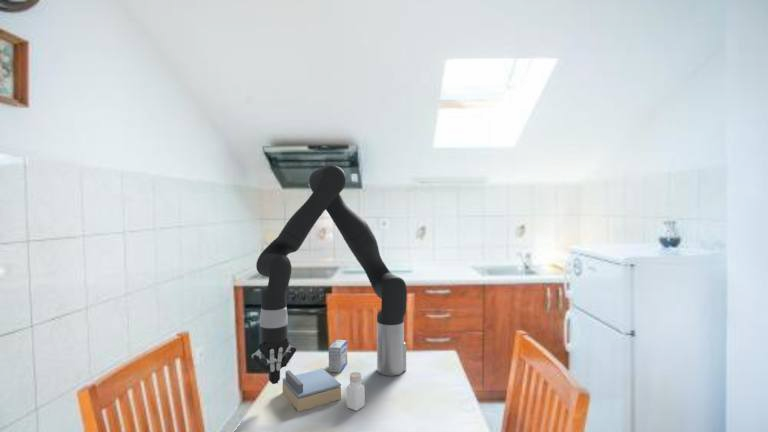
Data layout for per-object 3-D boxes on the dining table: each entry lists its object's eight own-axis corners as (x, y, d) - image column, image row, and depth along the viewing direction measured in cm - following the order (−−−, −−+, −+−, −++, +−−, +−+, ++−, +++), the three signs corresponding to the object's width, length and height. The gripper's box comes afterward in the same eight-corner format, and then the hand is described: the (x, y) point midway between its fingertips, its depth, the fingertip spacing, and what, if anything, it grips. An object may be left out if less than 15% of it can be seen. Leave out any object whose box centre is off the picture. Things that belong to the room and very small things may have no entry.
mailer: (322, 382, 133) (322, 371, 133) (341, 398, 122) (340, 387, 122) (282, 392, 126) (282, 381, 126) (298, 411, 115) (298, 399, 115)
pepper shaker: (354, 402, 120) (354, 370, 120) (365, 406, 118) (365, 373, 118) (345, 407, 117) (345, 374, 117) (356, 412, 115) (356, 378, 114)
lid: (322, 370, 133) (322, 360, 133) (340, 386, 122) (340, 375, 122) (282, 380, 126) (282, 370, 126) (298, 398, 115) (298, 387, 115)
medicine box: (341, 373, 140) (340, 348, 140) (328, 371, 141) (328, 347, 141) (347, 363, 148) (347, 340, 148) (335, 362, 149) (335, 339, 148)
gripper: (291, 316, 124) (291, 372, 125) (246, 323, 117) (247, 383, 117) (301, 322, 118) (301, 382, 118) (254, 330, 110) (254, 393, 111)
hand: (274, 382), depth 118 cm, fingers closed
